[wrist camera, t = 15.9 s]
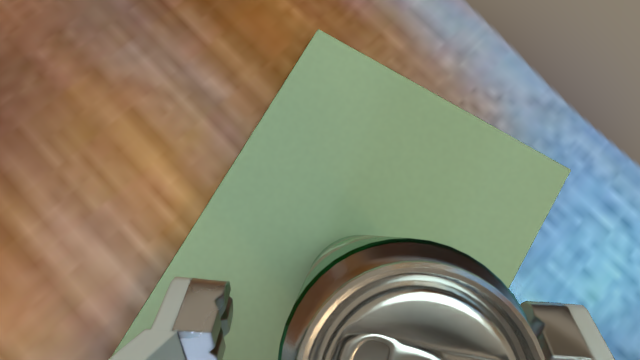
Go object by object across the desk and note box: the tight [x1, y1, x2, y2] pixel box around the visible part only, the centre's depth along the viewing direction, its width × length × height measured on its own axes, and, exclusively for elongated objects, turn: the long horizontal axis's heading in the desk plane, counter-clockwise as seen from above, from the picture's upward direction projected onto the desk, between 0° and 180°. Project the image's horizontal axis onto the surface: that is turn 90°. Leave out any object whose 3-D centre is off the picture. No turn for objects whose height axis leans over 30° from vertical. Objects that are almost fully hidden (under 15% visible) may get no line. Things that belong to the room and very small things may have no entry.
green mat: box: [112, 29, 571, 360], centre depth 19 cm, size 14×20×1 cm
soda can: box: [278, 235, 545, 360], centre depth 13 cm, size 5×5×12 cm
